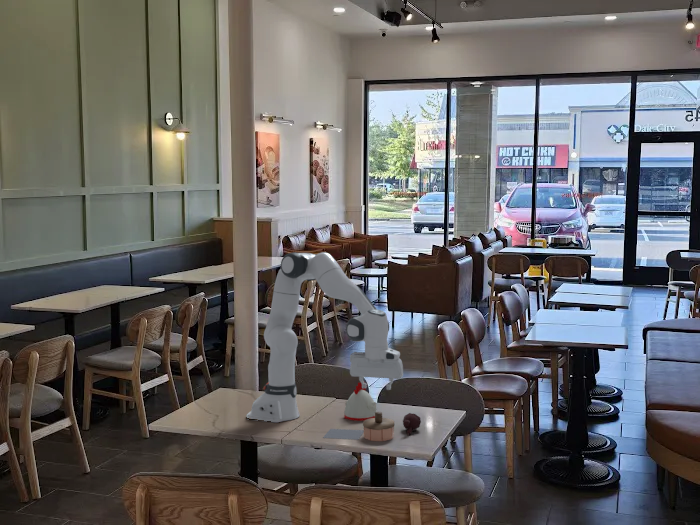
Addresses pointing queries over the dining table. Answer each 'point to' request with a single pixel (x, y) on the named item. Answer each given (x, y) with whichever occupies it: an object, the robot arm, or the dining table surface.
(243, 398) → the dining table surface
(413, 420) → the icecream
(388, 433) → the bowl
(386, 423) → the lid
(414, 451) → the dining table surface
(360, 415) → the kitchen timer
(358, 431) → the mat
